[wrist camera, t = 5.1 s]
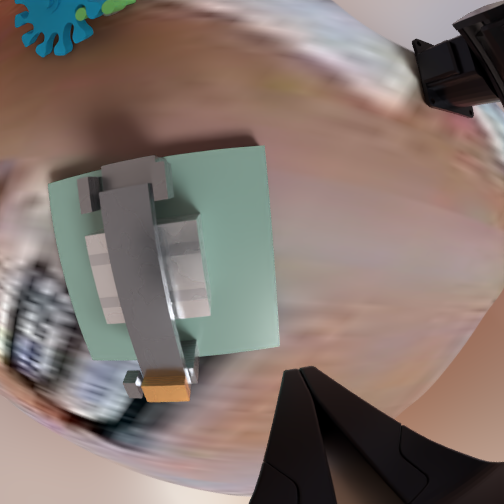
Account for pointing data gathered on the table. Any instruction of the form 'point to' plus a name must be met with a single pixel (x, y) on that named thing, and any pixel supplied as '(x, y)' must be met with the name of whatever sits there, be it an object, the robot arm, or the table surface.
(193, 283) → the heatsink
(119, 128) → the table surface
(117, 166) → the post
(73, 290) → the board
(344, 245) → the table surface
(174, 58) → the table surface
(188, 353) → the post
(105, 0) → the gear
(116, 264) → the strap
